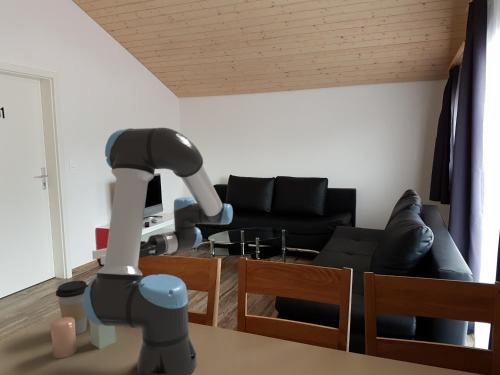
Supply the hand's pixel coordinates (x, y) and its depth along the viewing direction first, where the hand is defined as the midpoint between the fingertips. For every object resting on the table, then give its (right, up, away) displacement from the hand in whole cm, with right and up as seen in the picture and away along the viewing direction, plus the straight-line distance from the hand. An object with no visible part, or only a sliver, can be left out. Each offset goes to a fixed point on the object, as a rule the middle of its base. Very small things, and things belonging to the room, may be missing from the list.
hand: (97, 257), depth 120 cm
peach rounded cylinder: (-3, -24, -15) cm, 28 cm away
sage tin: (+6, -23, -10) cm, 26 cm away
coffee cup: (-6, -23, -3) cm, 24 cm away
